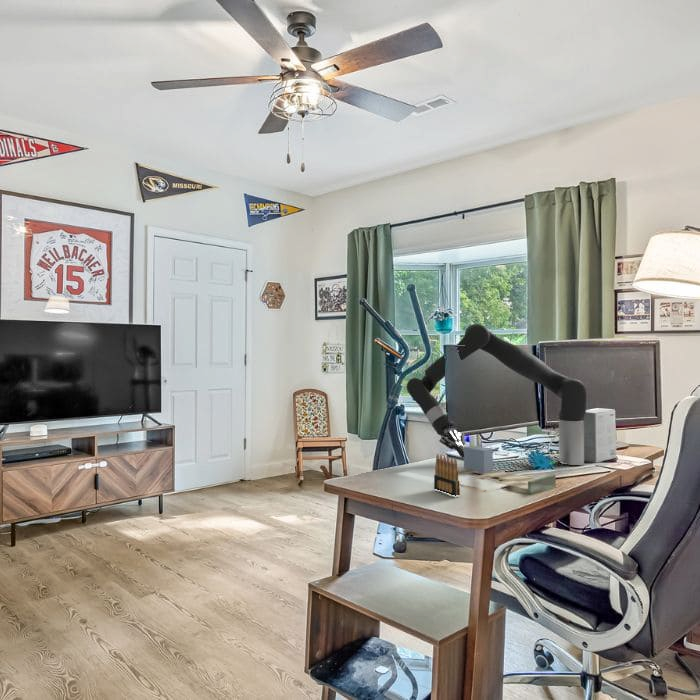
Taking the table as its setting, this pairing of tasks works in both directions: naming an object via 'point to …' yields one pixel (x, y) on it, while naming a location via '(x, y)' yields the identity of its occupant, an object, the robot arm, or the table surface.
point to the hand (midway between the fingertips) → (465, 456)
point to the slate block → (478, 459)
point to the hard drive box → (599, 435)
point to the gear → (541, 460)
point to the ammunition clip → (446, 476)
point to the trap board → (518, 481)
